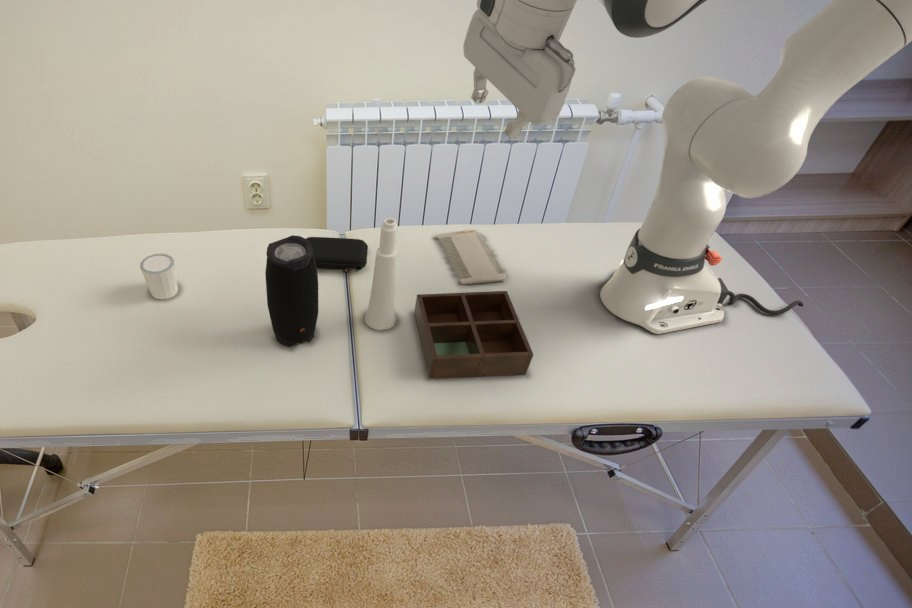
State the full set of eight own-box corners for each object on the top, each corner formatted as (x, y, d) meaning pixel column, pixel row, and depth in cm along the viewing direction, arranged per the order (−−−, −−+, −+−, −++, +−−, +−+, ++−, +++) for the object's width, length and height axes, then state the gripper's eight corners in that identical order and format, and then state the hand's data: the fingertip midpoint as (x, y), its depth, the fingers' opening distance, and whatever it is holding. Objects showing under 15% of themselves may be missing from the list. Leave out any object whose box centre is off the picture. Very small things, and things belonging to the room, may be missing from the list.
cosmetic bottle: (378, 305, 115) (387, 207, 98) (402, 319, 112) (415, 220, 95) (358, 320, 112) (364, 221, 95) (382, 335, 109) (392, 235, 92)
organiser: (500, 310, 113) (506, 290, 109) (525, 374, 102) (533, 354, 98) (413, 314, 113) (416, 294, 109) (429, 379, 102) (433, 359, 98)
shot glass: (159, 305, 116) (151, 278, 111) (141, 290, 119) (133, 262, 114) (187, 291, 119) (180, 263, 114) (169, 276, 122) (162, 248, 117)
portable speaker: (318, 349, 107) (317, 263, 92) (269, 349, 107) (259, 263, 92) (318, 319, 112) (317, 233, 98) (271, 319, 113) (263, 233, 98)
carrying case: (296, 273, 122) (365, 277, 121) (296, 262, 120) (366, 265, 118) (302, 245, 129) (367, 248, 128) (302, 233, 127) (368, 236, 125)
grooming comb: (435, 235, 130) (435, 233, 129) (478, 231, 131) (478, 228, 130) (461, 286, 118) (461, 283, 118) (508, 281, 119) (508, 278, 118)
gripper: (599, 57, 72) (549, 154, 84) (509, -17, 82) (475, 80, 93) (560, 62, 70) (515, 161, 82) (472, -14, 80) (443, 85, 91)
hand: (493, 117), depth 88 cm, fingers open, 8 cm apart
